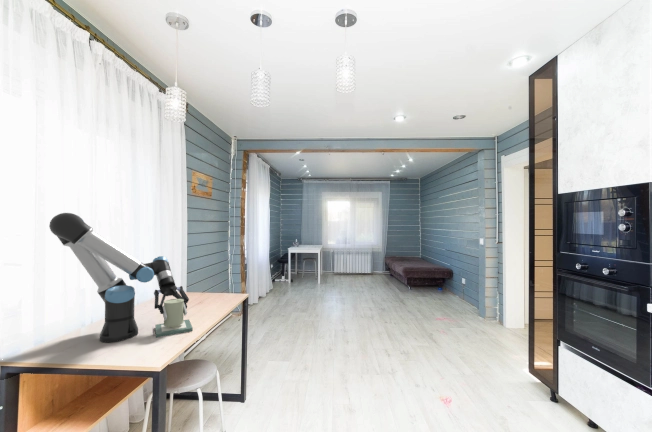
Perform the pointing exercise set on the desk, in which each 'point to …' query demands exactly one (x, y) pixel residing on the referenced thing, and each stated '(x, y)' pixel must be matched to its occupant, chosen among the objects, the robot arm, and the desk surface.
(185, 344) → the desk surface
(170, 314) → the can
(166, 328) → the board
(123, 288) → the robot arm
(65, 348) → the desk surface
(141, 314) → the desk surface
